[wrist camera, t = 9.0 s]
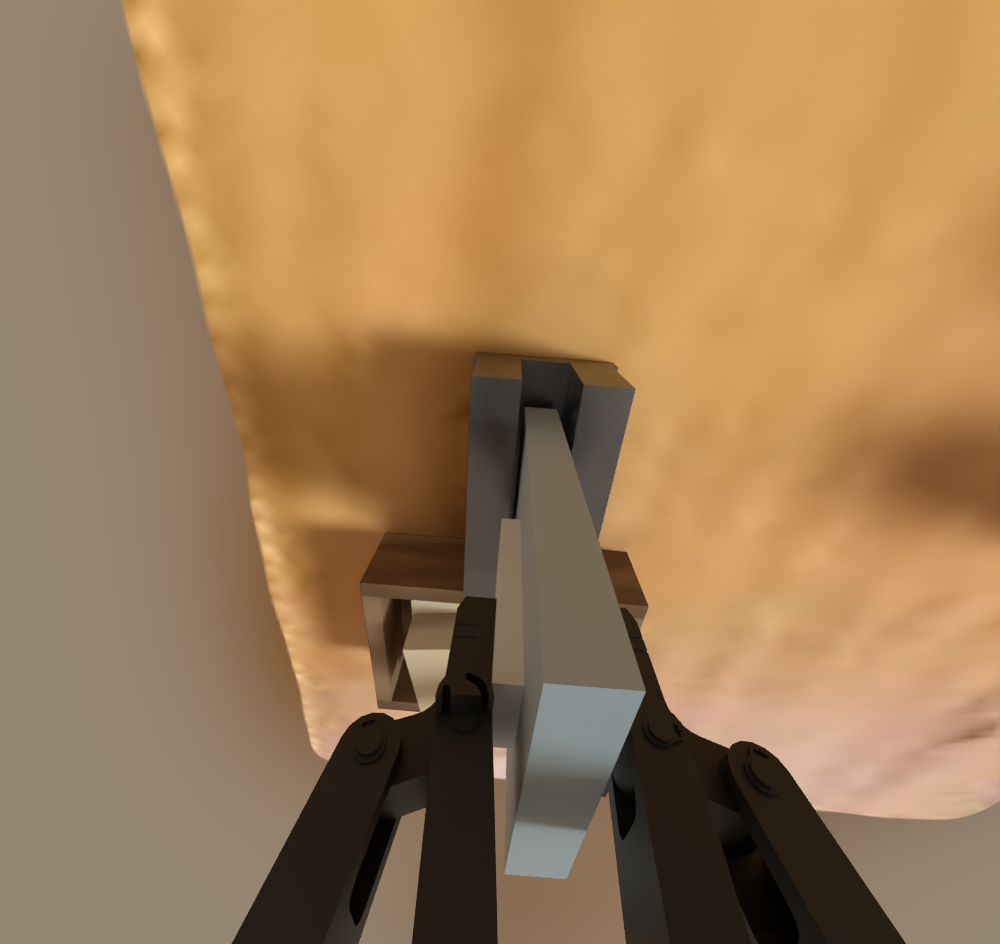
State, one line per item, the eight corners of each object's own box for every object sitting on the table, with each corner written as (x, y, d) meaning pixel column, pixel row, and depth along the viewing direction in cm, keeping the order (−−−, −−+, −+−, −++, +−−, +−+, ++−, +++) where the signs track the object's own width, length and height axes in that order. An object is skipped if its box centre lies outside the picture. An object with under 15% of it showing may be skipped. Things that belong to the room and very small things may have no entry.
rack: (385, 532, 24) (360, 582, 20) (626, 552, 24) (648, 606, 20) (396, 651, 30) (378, 708, 26) (592, 667, 30) (604, 727, 26)
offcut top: (413, 613, 23) (402, 650, 21) (477, 612, 22) (473, 649, 20) (429, 674, 26) (420, 712, 23) (486, 674, 25) (483, 712, 23)
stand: (475, 351, 19) (462, 375, 14) (613, 363, 19) (643, 389, 14) (468, 539, 24) (457, 597, 20) (574, 548, 24) (586, 608, 20)
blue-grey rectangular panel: (524, 406, 18) (543, 683, 6) (556, 409, 18) (646, 691, 6) (510, 536, 22) (504, 873, 9) (537, 538, 22) (566, 879, 9)
